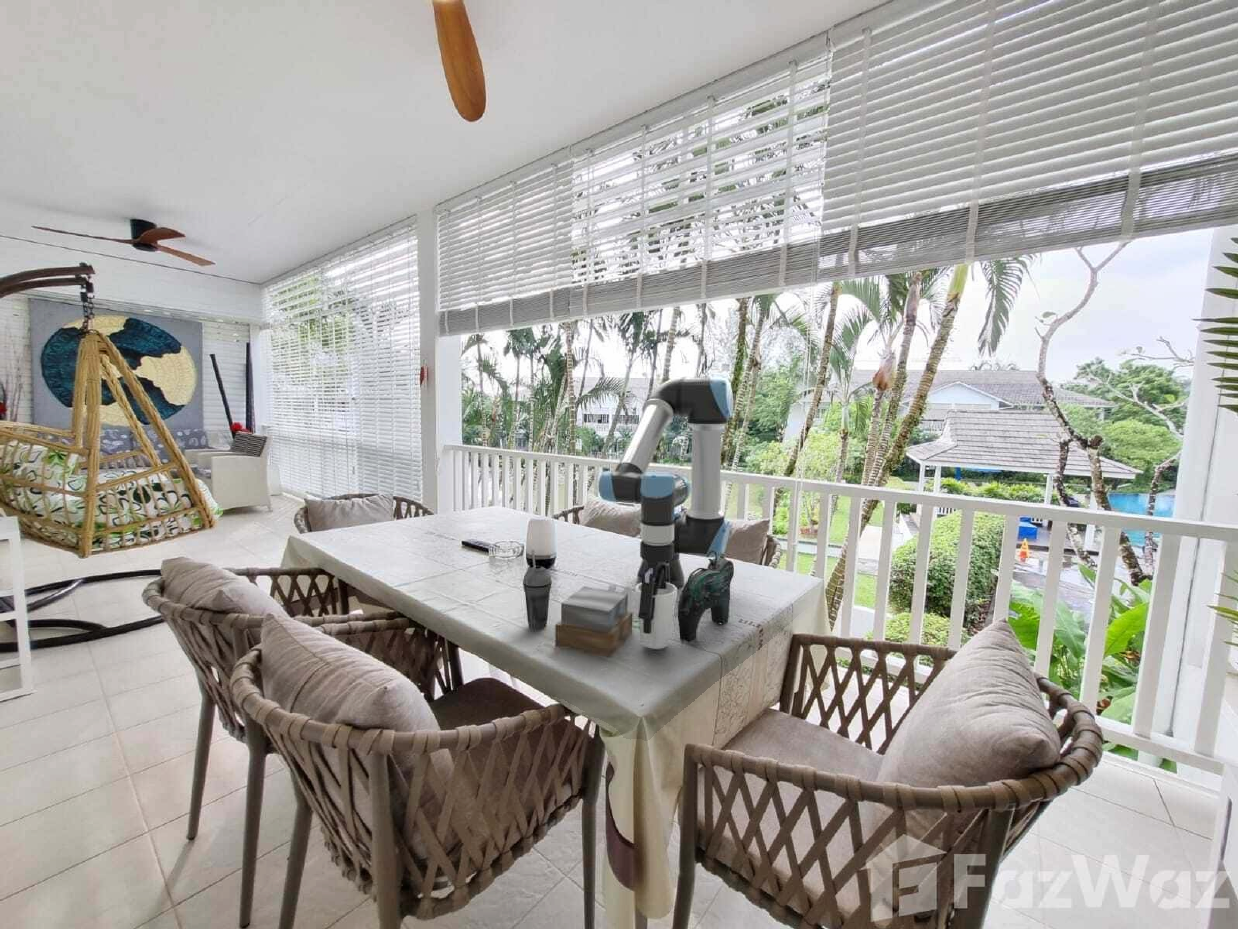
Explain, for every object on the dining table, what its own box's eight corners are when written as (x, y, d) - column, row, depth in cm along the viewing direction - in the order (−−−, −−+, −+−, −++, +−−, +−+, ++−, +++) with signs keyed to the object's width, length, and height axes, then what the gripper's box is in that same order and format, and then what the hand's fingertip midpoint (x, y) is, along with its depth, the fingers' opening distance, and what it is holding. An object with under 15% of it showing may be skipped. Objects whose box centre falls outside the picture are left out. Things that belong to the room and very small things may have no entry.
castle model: (658, 607, 141) (659, 581, 140) (649, 629, 126) (650, 601, 126) (607, 601, 144) (607, 576, 144) (592, 622, 130) (593, 595, 129)
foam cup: (627, 645, 113) (628, 591, 111) (644, 629, 121) (645, 578, 119) (666, 656, 109) (667, 599, 107) (681, 638, 117) (683, 585, 115)
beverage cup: (554, 630, 124) (554, 552, 122) (525, 634, 121) (524, 554, 119) (548, 619, 131) (548, 544, 128) (520, 622, 128) (520, 546, 126)
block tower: (581, 621, 129) (581, 584, 128) (632, 631, 124) (632, 592, 123) (555, 645, 116) (555, 604, 115) (610, 657, 111) (611, 614, 110)
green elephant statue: (717, 614, 135) (719, 542, 133) (738, 621, 131) (741, 547, 128) (672, 638, 121) (674, 558, 119) (694, 647, 116) (696, 564, 114)
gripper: (655, 528, 123) (654, 614, 126) (623, 552, 103) (622, 654, 106) (685, 531, 121) (683, 619, 123) (658, 557, 100) (656, 661, 103)
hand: (655, 635), depth 115 cm, fingers closed on foam cup, 9 cm apart
